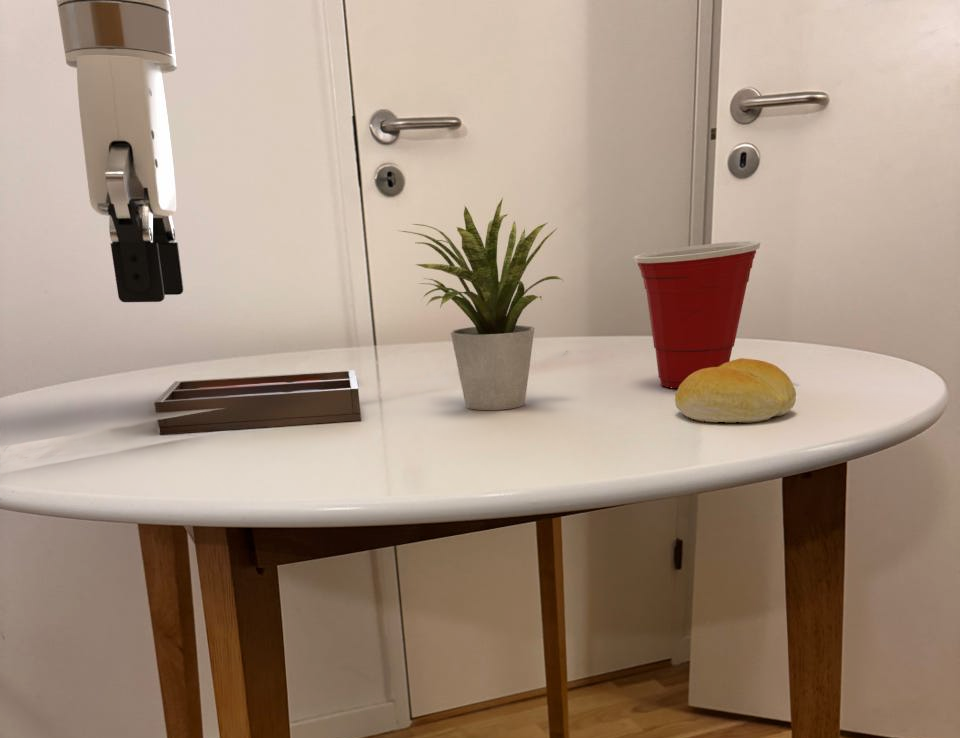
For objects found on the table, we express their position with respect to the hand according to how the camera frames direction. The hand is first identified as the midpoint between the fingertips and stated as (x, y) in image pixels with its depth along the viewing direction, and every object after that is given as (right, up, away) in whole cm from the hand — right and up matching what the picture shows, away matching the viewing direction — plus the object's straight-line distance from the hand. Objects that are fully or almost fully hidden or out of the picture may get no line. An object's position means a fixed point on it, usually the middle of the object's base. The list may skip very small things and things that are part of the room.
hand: (153, 297), depth 73 cm
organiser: (+7, -7, +8) cm, 13 cm away
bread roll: (+46, -9, 0) cm, 47 cm away
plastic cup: (+45, -4, +13) cm, 47 cm away
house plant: (+26, -6, +9) cm, 29 cm away
